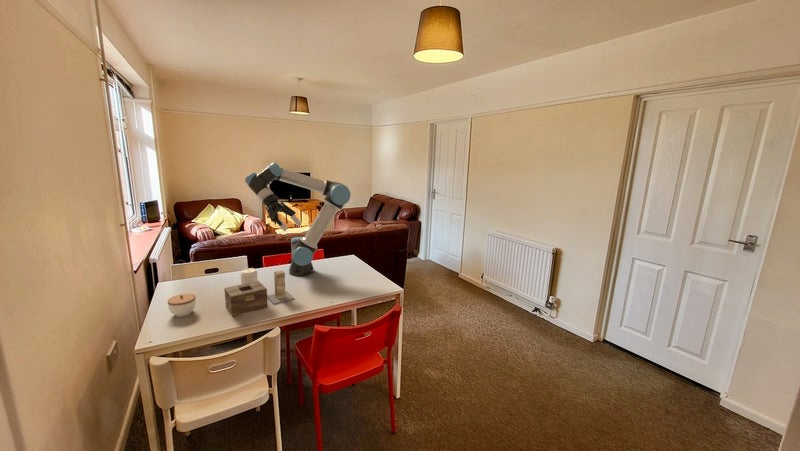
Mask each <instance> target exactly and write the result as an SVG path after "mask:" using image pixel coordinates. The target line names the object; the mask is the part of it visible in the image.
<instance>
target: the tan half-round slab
mask: <svg viewBox="0 0 800 451" xmlns="http://www.w3.org/2000/svg"><path fill="white" fill-rule="evenodd" d="M256 281H259V279H258V271H257V269H256V268H254V267H250V268H244V269H242V270H241V271H240V282H241V284H240V285H242V284H247V283H252V282H256Z"/></svg>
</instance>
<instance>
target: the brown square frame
mask: <svg viewBox="0 0 800 451" xmlns="http://www.w3.org/2000/svg"><path fill="white" fill-rule="evenodd" d="M223 289H224V301H225V308H226V310H227V311H228V313H229V314H230V316H231V317H237V316H241V315H244V314H248V313H253V312H256V311H259V310H264V309H267V308H268V298H267V296H268V294H267V293H268V288H266V287H265V285H264V284H262V283H261V282H260V280H258V281H256V282H252V283H247V284H242V285H241V284H239V285H238V284H237V285H233V286H227V287H224V288H223Z"/></svg>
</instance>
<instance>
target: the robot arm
mask: <svg viewBox="0 0 800 451" xmlns="http://www.w3.org/2000/svg"><path fill="white" fill-rule="evenodd" d="M278 164H279V163H276V161H274V162H272V163H270V164H269V165H268V164H267V166H266V167H265V168H264V169H262V170H261V171H260V172H259V173H256V172H252V173H251V172H250V174H248V175H246V176H245V178H244V182H245V183H246V184H247V186H248V188H250V190H251V191H252V192H253V193H254V194H255V195H256V196H257V198H259V200H260V201H261V202H262V203H263V205H264V206H265V208H264V209H265V210H266V211H267V214H268V216H269V219H270V221H271V222H273V223H274V224H275V223H276V224H277V226H279V228H281V230H282V231H283V232H286V231H287V230H288V229H289V227H288V226H287V225H286V223H285V222H284V221H283V220H282V219H281V218H279V217H280V216H279V212H280V213H283V214H284V215H288V216H289V217H290V219H291V220H292V221H293V222H294V223H295V225H296V226H297V227H300V225H302V222H301V220H300V219H299V218H298V217H297V216H296V211H295V210H293V209H292V208H291V207H290V206H288V205H287V204H285V203H284V201H280V202H279V198H278V197H277V196H276V194H275V193H274V192H273V191H272V190H271V189H270V188H269V187H268V185H269V184H271V183H272V182H273V181H274V180H276V181H280V182H284V183H287V184H291V185H294V186H297V187H300V188H304V189H307V190H311V191H313V192H318V193H320V194H321V196H325V197H324V200H323V201H324V204H323V205H322V208H320V211H319V212H318V213H317V215H316V217H315V219H314V220H313V222H312V224H311V225H310V226H309V229H308V230H307V231H306V233H305V235H304V236H297V237H292V238H291V239H290V241H291V242H290V246H291V247H290V248H291V262H290V265H289V270H288V274H289V275H291V276H294V277H304V276H309V275H311V274H313V273H315V272H314V266H313V263H312V261H313V260H314V254H315V253H316V252H317V250H318V243H319V242H320V241H321V238H322V237H323V235H324V233H325V232H326V230H327V228H328V226H330V223H332V220H333V219H334V217H335V216H336V213H337V212H338V211H341V210H342V209H343V208H344V206H345V205H346V204H347V203H349V201H350V199H351V191H350V189H349V188H348V186H346V184H343V183H342V182H338V181H337V182H336V181H331V180H327V179H325V180H322V179H318V178H315V177H312V176H308V175H306V174H302V173H298V172H296V171H294V170H293V171H292V170H290V169H286V168H282V167H280V165H278Z"/></svg>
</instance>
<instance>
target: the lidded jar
mask: <svg viewBox="0 0 800 451" xmlns="http://www.w3.org/2000/svg"><path fill="white" fill-rule="evenodd" d="M196 299H197V298H196V295H195V294H193V293H181V294H177V295H173V296H171V297H170V298H168V299H167V305H168V310H169V311H170V313H171V314H172V315H174V316H175V317H177V318H181V317H186V316H190V314H192V312H193V311H194V309H195V307H196V302H197V301H196Z"/></svg>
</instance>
